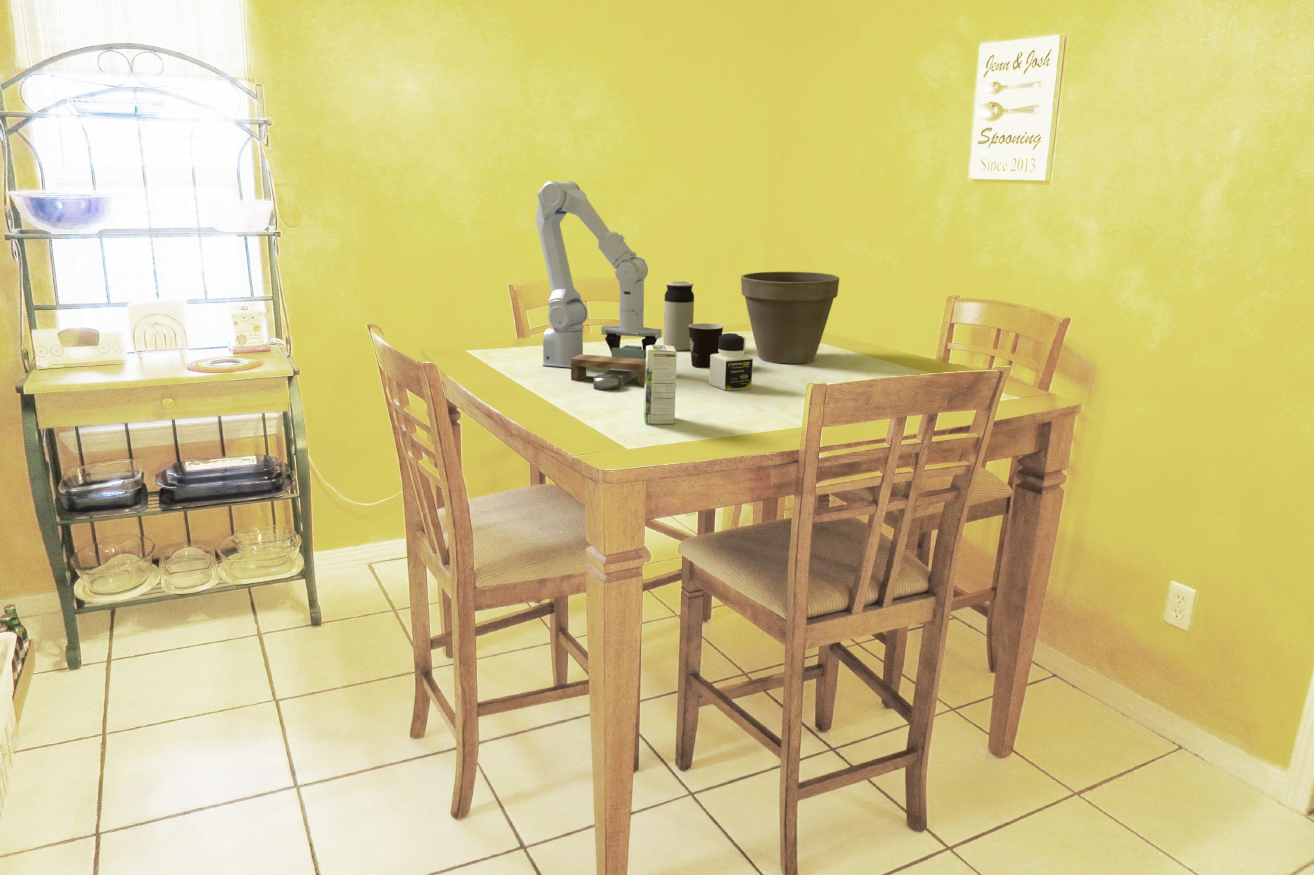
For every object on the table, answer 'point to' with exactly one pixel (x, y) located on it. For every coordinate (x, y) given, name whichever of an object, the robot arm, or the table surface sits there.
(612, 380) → the token
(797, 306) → the plant pot
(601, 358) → the riser shelf
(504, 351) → the table surface
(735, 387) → the medicine bottle
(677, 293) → the travel mug
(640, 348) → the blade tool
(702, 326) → the coffee mug
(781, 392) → the table surface
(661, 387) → the syrup box
